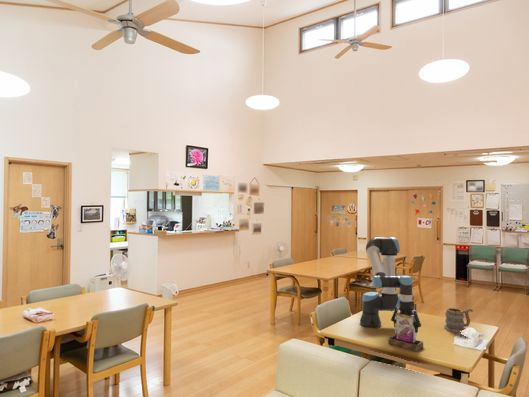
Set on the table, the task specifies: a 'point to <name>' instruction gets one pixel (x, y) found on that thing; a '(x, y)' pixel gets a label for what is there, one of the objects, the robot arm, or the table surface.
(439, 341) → the table surface
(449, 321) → the tankard
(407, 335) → the candy bar box
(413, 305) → the french press
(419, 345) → the holder tray
